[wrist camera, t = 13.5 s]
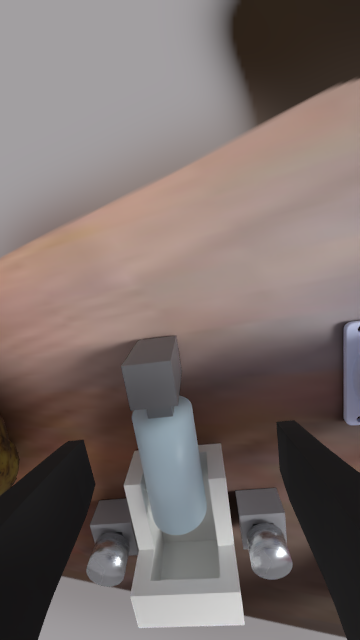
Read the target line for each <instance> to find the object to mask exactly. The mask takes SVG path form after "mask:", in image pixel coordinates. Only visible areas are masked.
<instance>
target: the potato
mask: <svg viewBox="0 0 360 640" xmlns="http://www.w3.org/2000/svg"><path fill="white" fill-rule="evenodd" d="M19 460H20V459H19V455H18V452H17V449H16V447H15V445H14V444H13V443H12V442H11V441H9V438H8V433H7V429H6V426H5V423H4V421H3V418H2V416H1V415H0V495H2V494H3V493H4V492H6V491H7V490H8V489H9V488H10V487H11V486H12V485H13V484H14V482H15V480H16V479H17V478H16V476H17V473H18V468H19Z"/></svg>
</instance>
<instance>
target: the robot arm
mask: <svg viewBox="0 0 360 640" xmlns="http://www.w3.org/2000/svg"><path fill="white" fill-rule="evenodd" d="M359 326H360V321H352V322H348V323H347V324H346V325H345V326H344V420H345V421H346V423H347V424H349V425H360V418H359V419H357V418H358V417H359V416H360V331H358V327H359ZM277 435H278V450H279V465H280V472H281V475H282V478H283V481H284V485H285V488H286V491H287V494H288V497H289V500H290V502H291V505H292V507H293V509H294V512H295V514H296V516H297V518H298V521H299V523H300V525H301V528H302V530H303V532H304V534H305V537H306V539H307V541H308V543H309V546H310V548H311V550H312V552H313V555H314V557H315V559H316V561H317V564H318V566H319V568H320V571H321V573H322V575H323V577H324V580H325V582H326V584H327V587H328V589H329V592H330V594H331V597H332V599H333V602H334V604H335V607H336V610H337V612H338V615H339V618H340V621H341V624H342V626H343V629H344V632H345V635H346V637H347V640H360V473H359V472H358V471H356V470H355V469H354V468H352V467H351V466H350V465H348V464H347V463H346V462H345V461H343V460H342V459H341V458H339V457H338V456H337V455H336V454H334V453H333V452H332V451H331V450H329V449H328V448H327V447H326V446H324V445H323V444H322V443H321V442H320V441H318V440H317V439H316V438H315V437H314V436H312V435H311V434H310V433H309V432H308V431H306V430H305V429H304V428H303V427H302V426H300V425H299V424H298V423H297V422H296V421H294V420H293V421H282V422H277ZM94 487H95V481H94V477H93V474H92V470H91V466H90V462H89V459H88V455H87V451H86V447H85V444H84V440H76V441H68V442H67V443H65V444H64V445H62V446H61V447H60V448H59V449H57V450H56V451H55V452H54V453H52V454H51V455H50V456H49V457H47V458H46V459H45V460H44V461H43V462H41V463H40V464H39V465H38V466H37V467H35V468H34V469H33V470H32V471H30V472H29V473H28V474H27V475H26V476H24V477H23V478H22V479H21V480H19V481H18V482H17V483H16V484H15V485H13V486H12V487H11V488H9V489H8V490H7V491H6V492H4V493H3V494H2V495H0V640H38V637H39V634H40V631H41V628H42V625H43V622H44V619H45V616H46V613H47V611H48V608H49V605H50V603H51V600H52V597H53V595H54V592H55V590H56V587H57V585H58V583H59V580H60V578H61V576H62V573H63V571H64V568H65V566H66V564H67V561H68V559H69V556H70V554H71V552H72V549H73V547H74V544H75V542H76V540H77V537H78V535H79V532H80V530H81V527H82V525H83V522H84V520H85V517H86V515H87V512H88V508H89V505H90V502H91V498H92V494H93V491H94Z"/></svg>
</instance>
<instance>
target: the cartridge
mask: <svg viewBox="0 0 360 640" xmlns="http://www.w3.org/2000/svg"><path fill="white" fill-rule="evenodd" d="M121 368H122V373H123V378H124V383H125V387H126V392H127V397H128V401H129V406H130V411H133V410H134V411H133V414H132V422H133V426H134V431H135V436H136V440H137V445H138V450H139V454H140V459H141V464H142V469H143V473H144V478H145V483H146V487H147V492H148V497H149V501H150V506H151V511H152V515H153V520H154V522H155V524H156V526H157V527H158V528H159V529H160V530H161V531H163V532H165V533H167V534H170V535H183V534H186V533H189V532H191V531H192V530H194V529H195V528H197V527H198V526H199V525H200V523H201V522H202V520H203V519H204V517H205V514H206V510H207V503H206V496H205V489H204V483H203V476H202V469H201V463H200V456H199V449H198V443H197V436H196V429H195V423H194V416H193V410H192V404H191V402H190V401H189V400H188V399H187V398H185V397H183V396H180V395H179V393H180V384H181V374H182V369H181V363H180V357H179V350H178V344H177V337H176V336H168V337H160V338H152V339H144V340H138V341H137V343H136V344H135V346H134V347H133V349H132V350H131V352H130V353H129V355H128V357H127V358H126V360H125V361H124V363H123V364H122V366H121Z"/></svg>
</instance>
